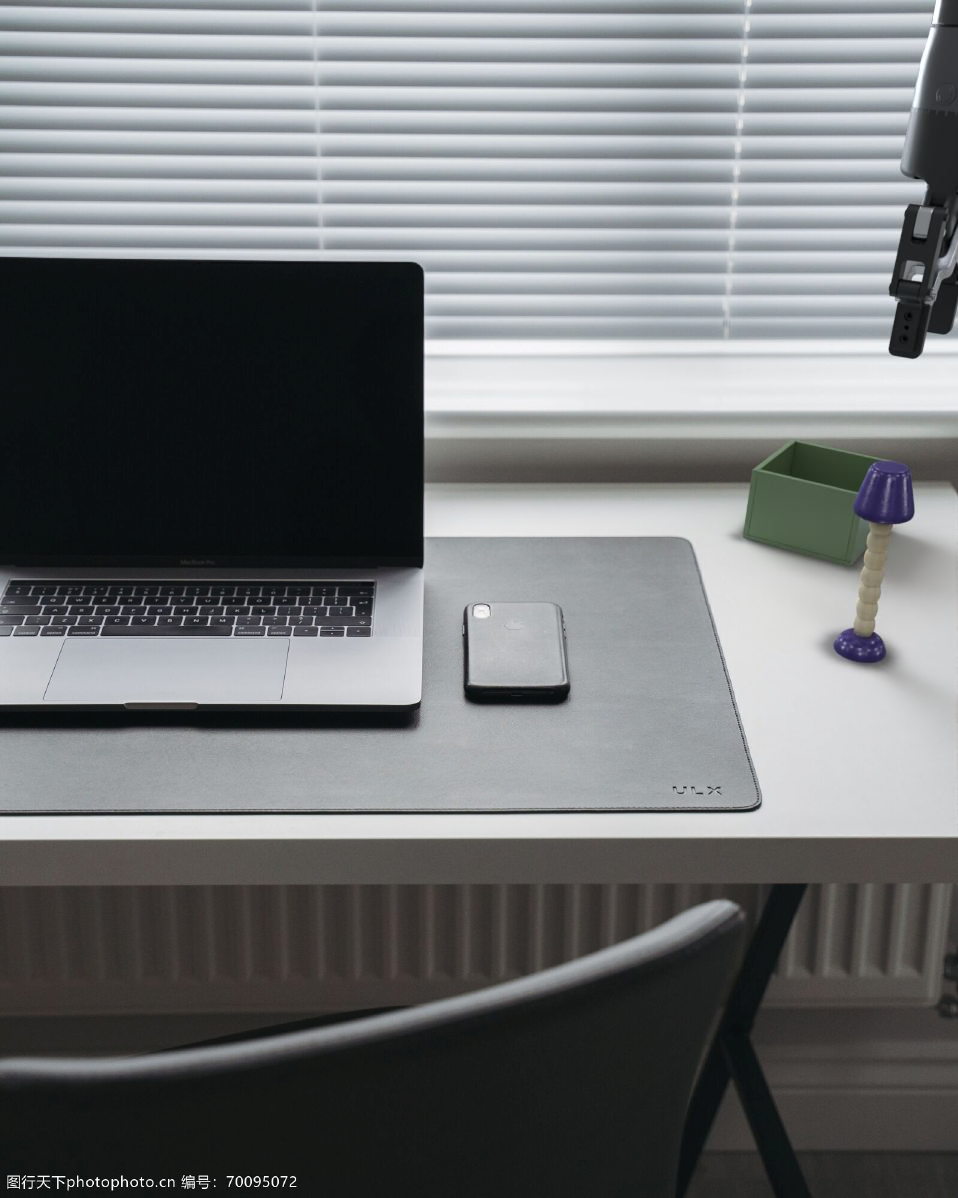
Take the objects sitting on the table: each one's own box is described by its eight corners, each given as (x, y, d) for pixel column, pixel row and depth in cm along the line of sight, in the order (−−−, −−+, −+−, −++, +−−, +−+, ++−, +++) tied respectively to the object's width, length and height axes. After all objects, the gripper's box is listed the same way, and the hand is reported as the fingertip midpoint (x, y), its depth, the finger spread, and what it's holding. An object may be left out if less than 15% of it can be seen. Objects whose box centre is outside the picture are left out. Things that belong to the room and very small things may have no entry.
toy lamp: (829, 661, 92) (866, 474, 84) (823, 633, 96) (857, 453, 88) (888, 667, 91) (931, 479, 84) (880, 639, 95) (920, 458, 88)
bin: (883, 529, 116) (898, 461, 112) (849, 567, 108) (864, 496, 104) (781, 504, 121) (792, 438, 118) (742, 538, 113) (752, 469, 110)
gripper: (1008, 113, 67) (948, 375, 74) (1051, 101, 77) (995, 332, 85) (883, 105, 70) (838, 356, 78) (941, 95, 81) (896, 317, 88)
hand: (920, 343), depth 81 cm, fingers open, 8 cm apart
